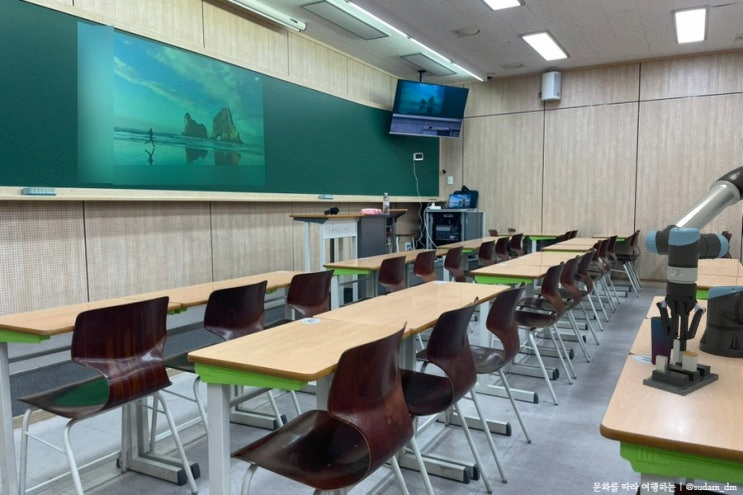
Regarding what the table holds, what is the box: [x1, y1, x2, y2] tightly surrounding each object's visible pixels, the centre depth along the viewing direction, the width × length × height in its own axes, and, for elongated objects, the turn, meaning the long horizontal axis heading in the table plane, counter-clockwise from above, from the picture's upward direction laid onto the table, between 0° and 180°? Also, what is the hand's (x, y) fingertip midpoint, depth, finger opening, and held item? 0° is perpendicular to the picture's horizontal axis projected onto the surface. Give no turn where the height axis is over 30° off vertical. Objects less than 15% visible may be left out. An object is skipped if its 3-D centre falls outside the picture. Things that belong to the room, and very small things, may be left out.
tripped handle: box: [682, 350, 699, 372], centre depth 149 cm, size 2×3×5 cm
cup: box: [650, 315, 672, 366], centre depth 167 cm, size 7×7×15 cm
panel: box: [642, 347, 720, 397], centre depth 151 cm, size 22×11×8 cm, turn 126°
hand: (677, 361), depth 152 cm, fingers closed
